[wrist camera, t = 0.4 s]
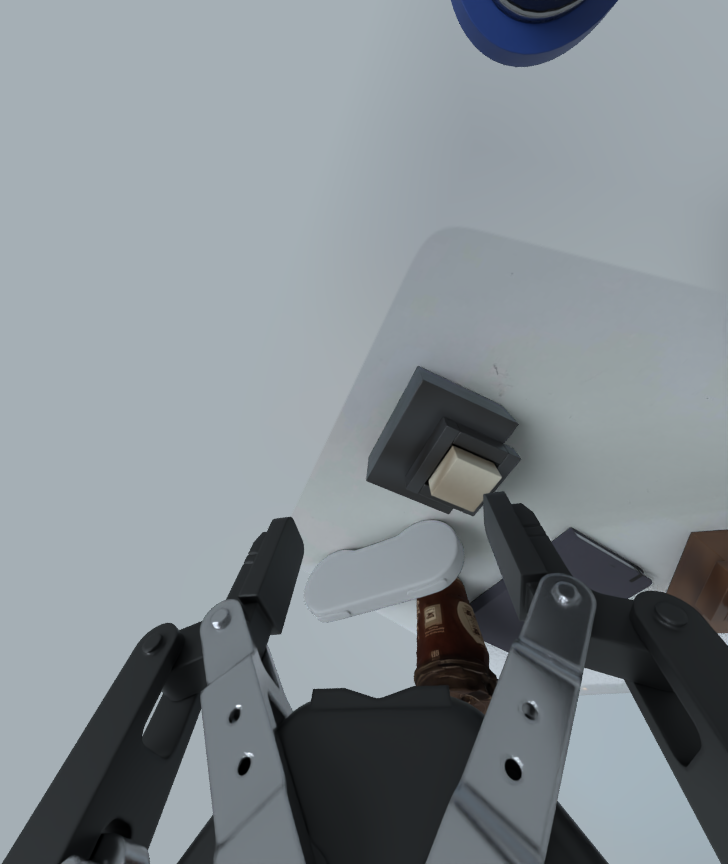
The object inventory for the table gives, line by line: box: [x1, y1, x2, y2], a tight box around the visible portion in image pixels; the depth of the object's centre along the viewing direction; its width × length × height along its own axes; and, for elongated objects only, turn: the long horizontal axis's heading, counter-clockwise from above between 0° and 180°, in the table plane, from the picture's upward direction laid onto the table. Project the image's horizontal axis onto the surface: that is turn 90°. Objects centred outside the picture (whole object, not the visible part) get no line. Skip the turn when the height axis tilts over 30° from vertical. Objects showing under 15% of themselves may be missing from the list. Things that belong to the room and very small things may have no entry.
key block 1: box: [366, 366, 521, 516], centre depth 28 cm, size 11×10×6 cm
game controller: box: [304, 520, 464, 622], centre depth 34 cm, size 20×2×8 cm, turn 120°
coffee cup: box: [414, 578, 498, 715], centre depth 35 cm, size 9×8×13 cm
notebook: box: [470, 528, 652, 652], centre depth 39 cm, size 13×2×21 cm
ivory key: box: [428, 445, 502, 512], centre depth 25 cm, size 4×4×2 cm
